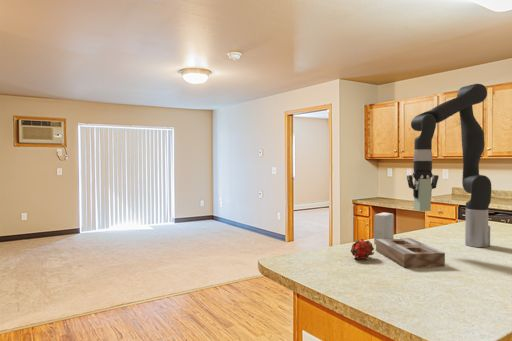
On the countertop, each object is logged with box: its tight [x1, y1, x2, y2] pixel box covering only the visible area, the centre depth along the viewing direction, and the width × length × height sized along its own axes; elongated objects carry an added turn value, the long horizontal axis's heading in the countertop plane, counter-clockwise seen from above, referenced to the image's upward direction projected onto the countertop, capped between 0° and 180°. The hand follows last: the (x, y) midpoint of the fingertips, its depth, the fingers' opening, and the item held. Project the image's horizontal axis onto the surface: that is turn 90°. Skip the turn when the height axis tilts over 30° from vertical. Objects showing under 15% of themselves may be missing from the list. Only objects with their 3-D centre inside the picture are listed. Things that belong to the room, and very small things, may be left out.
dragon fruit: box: [350, 238, 375, 260], centre depth 150 cm, size 8×8×12 cm
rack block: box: [375, 237, 446, 269], centre depth 151 cm, size 16×26×5 cm, turn 5°
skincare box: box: [373, 211, 395, 245], centre depth 176 cm, size 8×6×15 cm
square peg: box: [413, 178, 432, 212], centre depth 163 cm, size 5×5×14 cm
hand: (422, 198), depth 163 cm, fingers closed on square peg, 5 cm apart
